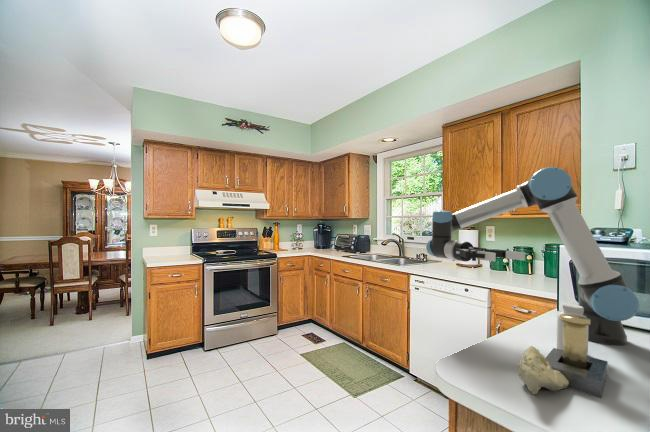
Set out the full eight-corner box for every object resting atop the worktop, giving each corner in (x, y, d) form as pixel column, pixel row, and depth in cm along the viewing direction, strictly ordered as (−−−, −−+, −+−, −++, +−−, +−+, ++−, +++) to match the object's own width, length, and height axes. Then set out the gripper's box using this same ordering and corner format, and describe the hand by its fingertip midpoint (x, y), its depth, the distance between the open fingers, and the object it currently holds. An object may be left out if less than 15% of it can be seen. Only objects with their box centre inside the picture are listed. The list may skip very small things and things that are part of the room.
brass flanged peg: (572, 371, 88) (572, 313, 88) (596, 382, 81) (596, 320, 82) (553, 372, 86) (553, 314, 87) (576, 384, 80) (577, 321, 80)
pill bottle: (594, 359, 96) (594, 309, 96) (564, 356, 98) (565, 307, 98) (579, 349, 104) (579, 303, 104) (551, 346, 106) (552, 301, 106)
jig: (553, 361, 94) (553, 347, 94) (607, 376, 85) (607, 361, 85) (540, 378, 83) (540, 363, 83) (601, 398, 74) (601, 381, 74)
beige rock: (539, 381, 85) (495, 343, 87) (563, 368, 82) (517, 329, 83) (558, 432, 72) (505, 386, 73) (588, 418, 68) (532, 370, 70)
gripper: (483, 259, 126) (535, 267, 107) (433, 261, 117) (481, 269, 97) (483, 241, 127) (535, 245, 107) (434, 241, 117) (481, 245, 97)
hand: (510, 256), depth 102 cm, fingers open, 13 cm apart
